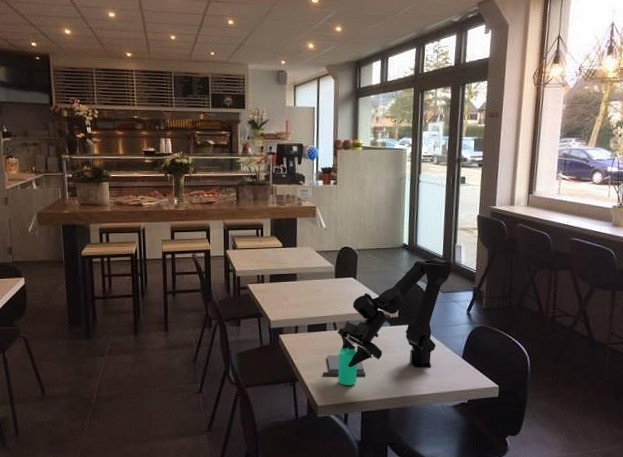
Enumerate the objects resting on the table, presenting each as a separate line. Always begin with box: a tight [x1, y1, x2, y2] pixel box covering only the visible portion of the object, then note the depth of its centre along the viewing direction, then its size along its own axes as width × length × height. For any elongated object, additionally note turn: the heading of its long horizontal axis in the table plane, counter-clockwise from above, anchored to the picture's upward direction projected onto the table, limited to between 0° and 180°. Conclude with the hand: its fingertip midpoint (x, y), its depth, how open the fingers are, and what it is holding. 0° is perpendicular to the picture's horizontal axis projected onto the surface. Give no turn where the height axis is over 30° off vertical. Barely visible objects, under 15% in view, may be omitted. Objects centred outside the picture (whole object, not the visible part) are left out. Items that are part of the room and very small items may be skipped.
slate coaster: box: [326, 354, 365, 372], centre depth 199 cm, size 12×12×1 cm
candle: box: [338, 348, 357, 386], centre depth 183 cm, size 6×6×12 cm
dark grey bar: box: [322, 371, 366, 377], centre depth 190 cm, size 15×1×1 cm, turn 93°
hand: (344, 363), depth 182 cm, fingers closed on candle, 5 cm apart
